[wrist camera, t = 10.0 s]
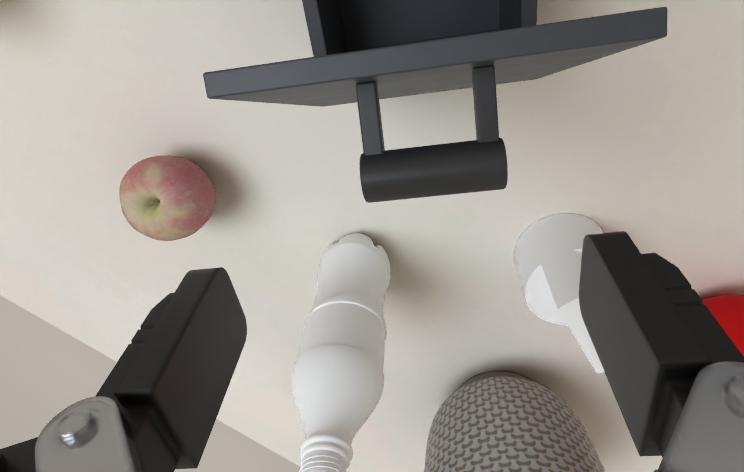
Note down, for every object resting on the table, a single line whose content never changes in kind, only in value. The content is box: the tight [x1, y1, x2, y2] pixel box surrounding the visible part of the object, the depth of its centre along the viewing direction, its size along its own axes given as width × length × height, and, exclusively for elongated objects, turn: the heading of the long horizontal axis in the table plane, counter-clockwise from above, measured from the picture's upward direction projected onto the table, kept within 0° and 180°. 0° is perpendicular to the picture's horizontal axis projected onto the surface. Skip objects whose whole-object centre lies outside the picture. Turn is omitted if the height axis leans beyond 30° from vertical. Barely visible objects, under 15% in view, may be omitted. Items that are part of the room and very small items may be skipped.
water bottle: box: [291, 233, 390, 472], centre depth 42 cm, size 7×7×25 cm
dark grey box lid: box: [203, 7, 667, 202], centre depth 24 cm, size 18×14×5 cm
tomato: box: [702, 294, 744, 356], centre depth 49 cm, size 12×12×11 cm
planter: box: [424, 371, 605, 472], centre depth 55 cm, size 20×20×19 cm
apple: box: [120, 156, 216, 241], centre depth 45 cm, size 8×8×8 cm
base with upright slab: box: [514, 213, 605, 373], centre depth 45 cm, size 9×9×12 cm
